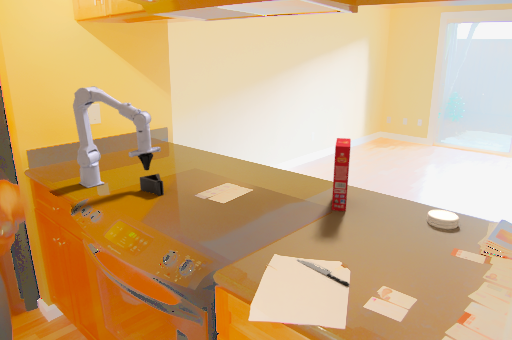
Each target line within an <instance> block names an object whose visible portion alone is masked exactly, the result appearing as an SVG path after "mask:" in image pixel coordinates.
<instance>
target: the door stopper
mask: <svg viewBox="0 0 512 340" xmlns="http://www.w3.org/2000/svg"><path fill="white" fill-rule="evenodd" d="M139 184H140V185H139V186H140V191H141V190H142V191H141V192H145V191H146V192H145V193H149V192H150V193H149V194H152V193H154V194H153V195H156V196H157V195H158V197H161V196H164V195H165V191H164V181H163V180H162V178H161V176H160V173H156V174H151V175H150V174H149V175H146V176H145V175H144V176H141V177H139Z"/></svg>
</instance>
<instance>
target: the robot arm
mask: <svg viewBox="0 0 512 340" xmlns="http://www.w3.org/2000/svg"><path fill="white" fill-rule="evenodd" d="M73 94H74V98H73V104H72V108H73V115H74V119H75V124H76V130H77V136H78V141H79V147H78V149H77V156H76V161H77V165H79V167H80V168H79V176H80V178H79V179H80V181H79V182H78V184H80V185H82V186H83V187H85V188H92V187H96V186H101V185H104V184H105V182H104V181H101V173H100V167H99V166H100V164H99V161H100V160H101V157H102V156H101V153H100V151H99V149H98V146H97V145H96V144H95V143H94V139H93V133H92V129H91V128H92V127H91V123H90V115H89V113H88V108H90V107H91V106H92V104H95V102H98V103H100V102H101V103H103V104H105V105H107V106H109V107H112V108H114V109H115V110H117V111H118V114H119V115H121V116H122V117H125V118H126V119H128V120H130V121H131V122H133V124H134V126H135V130H136V142H137V143H136V144H137V149H136V150H133V151H128V157H129V158H134V157H137V158H138V159H139V160H140V162H141V165H142V167H143V170H144V171H147V172H148V171H150V166H151V163H152V159H153V157H154V153H160V152H161V151H162V150H161V148H162V147H160V146H153V147H152V139H151V138H152V137H151V129H150V128H151V127H150V123H151V121H152V116H151V114H150V113H149V112H148V111H147V110H142V109H140V108H137V107H135V106H133V105H132V102H121V101H119V100H118V99H116V98H114V97H113V96H111V95H110V94H108V93H107V92H105V90H103V89H102V88H98V87H97V86H87V87H80V88H77V90H76V91H75V92H74V93H73Z"/></svg>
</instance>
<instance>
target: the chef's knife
mask: <svg viewBox="0 0 512 340" xmlns="http://www.w3.org/2000/svg"><path fill="white" fill-rule="evenodd" d="M296 261H297V262H299V263H301V264H303V266H306V267H308V268H310V269H312V268H313V269H312V270H314V269H315V270H314V271H316V270H317V271H316V272H318V273H319V272H320V273H319V274H321V273H322V274H321V275H323V274H324V276H325V275H326V276H325V277H327V276H328V278H329V277H330V278H329V279H332V280H334V281H335V282H338V283H339V284H341V285H344V286H346V287H350V283H349V282H348V281H345V280H343V279H341V278H338V277H336V276H334V275H333V274H332V271H331V270H329V271H327V270H328V269H327V270H324V269H325V268H324V269H321V268H320V267H321V266H320V267H317V266H318V265H317V266H315V265H316V264H315V263H312V262H309V261H306V260H300V259H297V260H296ZM314 264H315V265H314ZM330 271H331V272H330Z"/></svg>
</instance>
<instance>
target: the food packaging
mask: <svg viewBox="0 0 512 340" xmlns="http://www.w3.org/2000/svg"><path fill="white" fill-rule="evenodd" d="M351 142H352V141H351V138H344V137H340V138H339V137H338V138H336V141H335V146H334V149H335V150H334V161H333V162H334V165H333V180H332V181H333V182H332V196H331V198H332V199H331V200H332V201H331V211H337V212H339V211H340V212H347V199H348V198H347V197H348V185H349V184H348V183H349V172H350V159H351V158H350V157H351Z"/></svg>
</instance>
